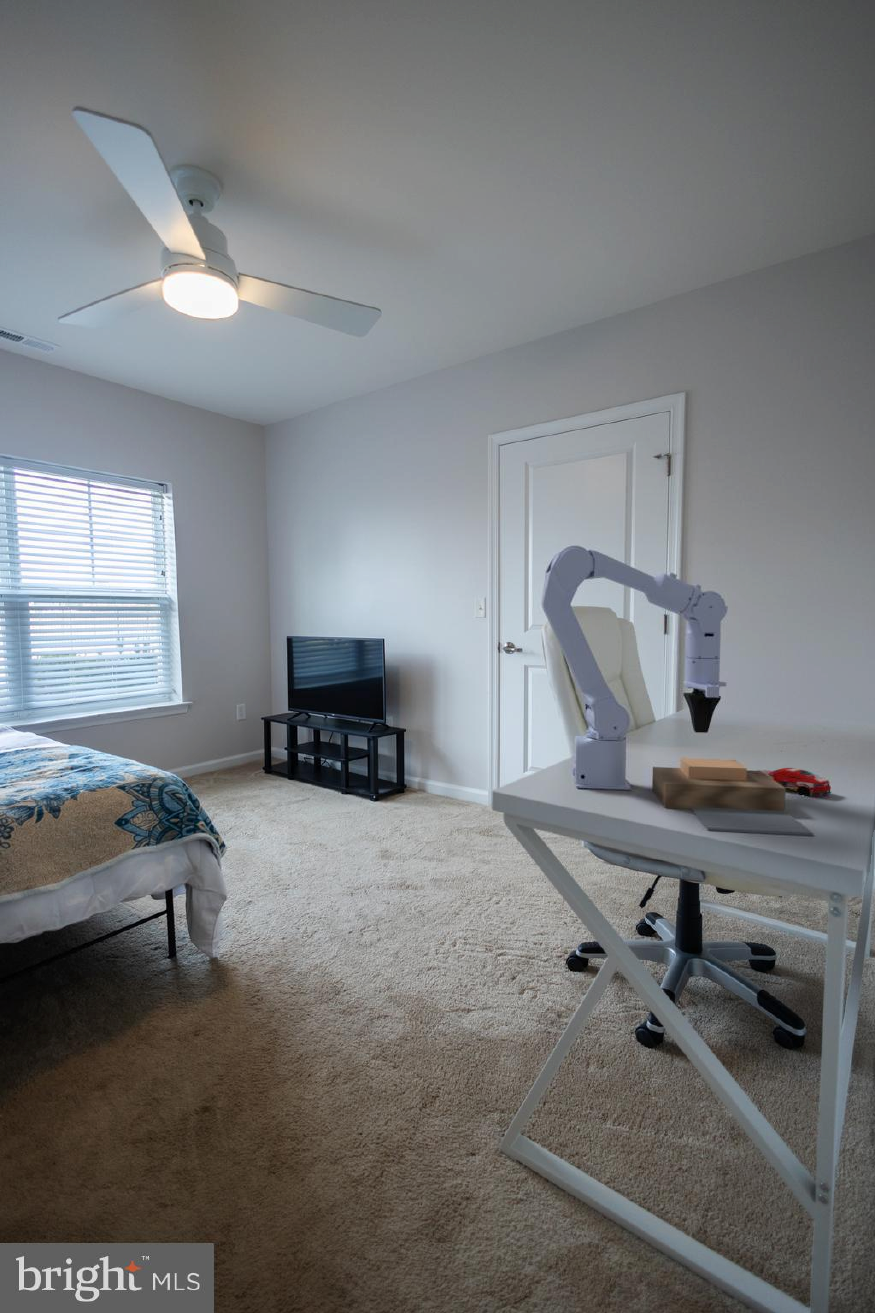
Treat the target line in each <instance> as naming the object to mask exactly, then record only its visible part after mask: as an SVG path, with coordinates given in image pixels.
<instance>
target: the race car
mask: <svg viewBox="0 0 875 1313" xmlns="http://www.w3.org/2000/svg"><path fill="white" fill-rule="evenodd" d="M757 771H761V772H763V773H764V774H766V775H767V776H769V777H770V778H771V779H773V780H774V781H776V782H777V783H779V784H780V785H782V786H783V787H784V788H786V791H785V793H792V794H798V796H802V795H804V796H803V797H806V796H808V797H825V796H827V795H828V794H832V792H831V785H830V781H829V779H827V778H825V777H821V776H820V775H818V774H815V773H814V772H811V771H808V770H805V769H800V768H795V767H794V768H793V767H783V768H779V769H778V768H777V769H776V770H768V769H762V770H760V769H759V770H757Z"/></svg>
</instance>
